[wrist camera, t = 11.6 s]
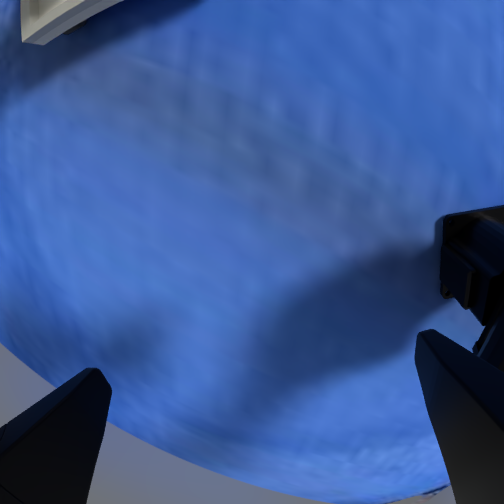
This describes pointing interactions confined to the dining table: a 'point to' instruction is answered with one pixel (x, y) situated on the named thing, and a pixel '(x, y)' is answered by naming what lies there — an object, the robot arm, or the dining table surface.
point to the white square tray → (56, 17)
